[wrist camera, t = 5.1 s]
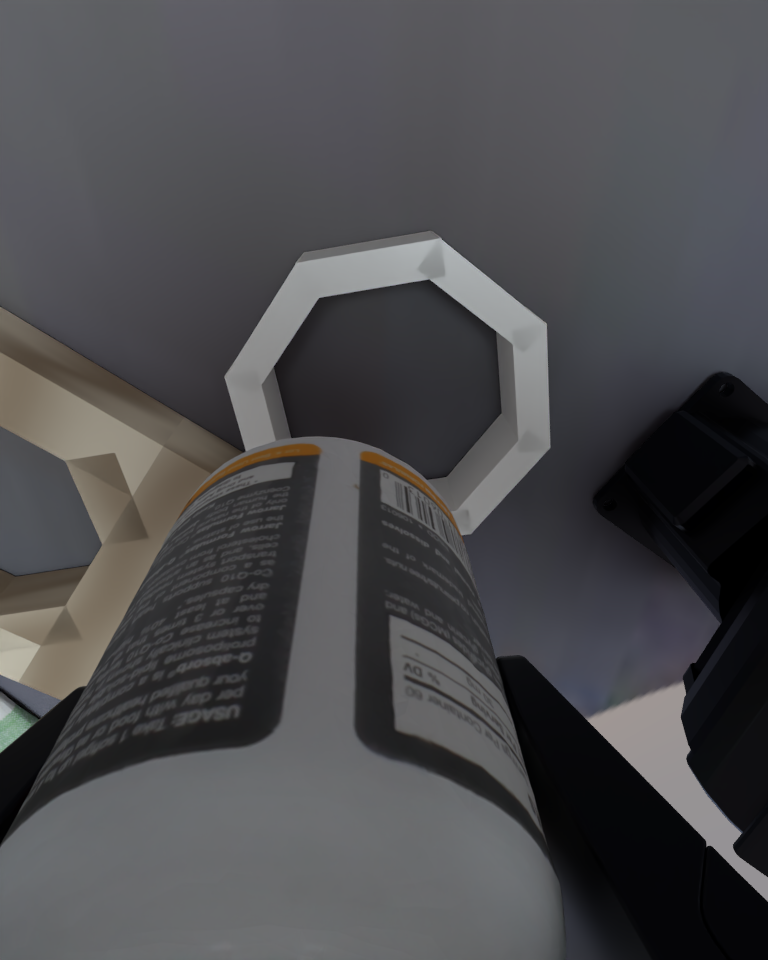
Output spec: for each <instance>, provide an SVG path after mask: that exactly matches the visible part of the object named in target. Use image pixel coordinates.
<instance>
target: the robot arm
mask: <svg viewBox="0 0 768 960" xmlns="http://www.w3.org/2000/svg"><path fill="white" fill-rule="evenodd" d="M725 383H728V387H727V388H726V390H725V391H724V392H722V393H719V389H720V388H721V386H722V385H724V384H725ZM609 499H613V501H612V502H611V504H609V505H607V506H603V504H604V503H605V501H607V500H609ZM593 504H594V507H595V508H596V510H597V511H598V512H599V513H600V515H602V516H603V517H605V518H606V519H607V520H609V521H610V522H612V523H613V524H614V525H616V526H617V527H619V528H620V529H622V530H623V531H624V532H626V533H627V534H629V535H630V536H631V537H633V538H634V539H636V540H637V541H638V542H640V543H641V544H643V545H644V546H646V547H647V548H648V549H650V550H651V551H653V552H654V553H655V554H657V555H658V556H660V557H661V558H663V559H664V560H665V561H667V562H668V563H670V564H671V565H672V566H674V567H675V568H676V569H677V570H678V571H679V572H680V574H681V575H682V576H683V577H684V579H685V580H686V581H687V582H688V584H689V585H690V586H691V587H692V589H693V590H694V591H695V592H696V594H697V595H698V596H699V597H700V599H701V600H702V601H703V602H704V604H705V605H706V606H707V607H708V609H709V610H710V611H711V612H712V613H713V615H714V616H715V617H716V618H717V620H718V621H719V622H720V623H721V624H720V626H719V628H718V629H717V631H716V632H715V634H714V635H713V637H712V638H711V640H710V642H709V643H708V645H707V646H706V648H705V649H704V651H703V653H702V654H701V656H700V657H699V659H698V660H697V662H696V663H692V664H690V666H689V668H688V669H687V671H686V672H685V674H684V675H683V681H684V685H685V690H686V696H685V698H684V703H683V708H682V713H681V720H682V723H683V727H684V730H685V734H686V737H687V741H688V745H689V746H690V749H691V751H690V752H689V754H688V755H687V758H686V759H687V763H688V765H689V767H690V769H691V771H692V772H693V774H694V775H695V777H696V779H697V780H698V781H699V783H700V785H701V786H702V788H703V790H704V791H705V792H706V794H707V795H708V797H709V798H710V799H711V800H712V802H713V803H714V804H715V805H716V806H717V807H718V809H719V810H720V811H721V812H722V813H723V815H724V816H725V817H726V818H727V819H728V820H729V821H730V822H731V823H732V824H733V825H734V826H735V827H736V828H737V829H738V830H739V831H740V832H741V833H742V834H741V835H740V837H739V838H738V839H737V840H736V842H735V843H734V844H733V848H734V851H735V852H736V854H737V855H738V856H739V857H740V858H742V859H743V860H744V861H746V862H747V863H749V864H750V865H751V866H753V867H754V868H756V869H757V870H759V871H760V872H761V873H763V874H764V875H766V876H767V877H768V404H767V403H765V402H764V401H763V400H762V399H761V398H760V397H759V396H758V395H756V394H755V393H754V392H753V391H752V390H751V389H750V388H749V387H747V386H746V385H745V384H744V383H743V382H742V381H741V380H740V379H738V378H737V377H735V376H733V375H731V374H729V373H724V372H722V373H719V374H716V375H715V376H713V377H712V378H711V379H710V380H709V381H708V382H707V383H706V384H705V385H704V386H703V387H702V388H701V389H700V390H699V391H698V392H697V393H696V394H695V395H694V396H693V397H692V398H691V399H690V400H689V401H688V402H687V403H686V404H685V405H684V406H683V407H682V408H681V409H680V410H679V411H678V412H676V413H674V414H673V415H672V416H671V417H670V418H669V419H668V420H667V421H666V422H665V423H664V424H663V425H662V426H661V427H660V428H659V429H658V430H657V431H656V432H655V433H654V434H653V435H652V436H651V437H650V438H649V439H648V440H647V441H646V442H645V443H644V444H643V445H642V446H641V447H640V448H639V449H638V450H637V451H636V452H635V453H634V454H633V455H632V456H631V457H630V458H629V459H628V460H627V461H626V463H625V465H624V466H623V467H622V468H621V469H620V470H619V471H618V473H617V474H616V475H615V476H614V477H613V478H612V479H611V480H610V481H609V482H608V483H607V484H606V485H605V486H604V487H603V488H602V489H601V490H600V491H599V492H598V493H597V494H596V495H595V497H594V500H593ZM496 662H497V665H498V669H499V672H500V675H501V678H502V682H503V687H504V691H505V695H506V699H507V702H508V706H509V709H510V713H511V716H512V719H513V722H514V726H515V729H516V733H517V737H518V741H519V744H520V748H521V752H522V756H523V760H524V763H525V767H526V771H527V774H528V778H529V781H530V785H531V788H532V791H533V793H534V797H535V801H536V805H537V809H538V813H539V816H540V820H541V824H542V827H543V831H544V834H545V838H546V842H547V845H548V849H549V853H550V856H551V858H552V861H553V864H554V867H555V870H556V873H557V876H558V879H559V882H560V887H561V891H562V899H563V908H564V917H565V926H566V960H768V902H767V901H766V900H765V899H764V898H763V897H762V896H761V895H760V894H759V893H758V892H757V891H756V890H755V889H754V888H753V887H752V886H751V885H750V884H749V883H748V882H747V881H746V880H745V879H744V878H743V877H742V876H741V875H740V874H739V873H737V871H735V869H734V868H733V867H732V866H731V865H729V863H728V862H727V861H726V860H725V859H724V858H723V857H722V856H721V855H720V854H719V853H718V852H717V851H716V850H715V849H714V848H713V847H712V846H707V847H706V841H705V839H704V838H703V837H702V836H701V835H700V834H699V833H698V832H697V831H696V830H695V829H694V828H693V827H692V826H691V825H690V824H689V823H688V822H687V821H686V820H685V819H684V818H683V817H682V816H681V815H680V814H679V813H678V812H677V811H676V810H675V809H674V808H673V807H672V806H671V805H670V804H669V803H668V802H667V801H666V800H665V799H664V798H663V797H662V796H661V795H660V794H659V793H658V792H657V791H656V790H655V789H654V788H653V787H652V786H651V785H650V784H649V783H648V782H647V781H646V780H645V779H644V778H643V777H642V776H641V775H640V773H639V772H638V771H637V770H636V769H635V768H634V767H633V766H631V764H630V763H629V762H628V761H627V760H626V759H625V758H624V757H623V756H622V755H621V754H620V753H619V752H618V751H617V750H616V749H615V748H614V747H613V746H612V745H611V744H610V743H609V742H608V741H607V740H606V739H605V738H604V737H603V736H602V735H601V734H600V733H599V732H598V731H597V730H596V729H595V728H594V727H593V726H592V725H591V724H590V723H589V722H588V721H587V720H586V719H585V718H584V717H583V716H582V715H581V714H580V713H579V712H578V711H577V710H576V709H575V708H574V707H573V706H572V705H571V704H570V703H569V702H568V701H567V700H566V699H565V698H564V697H563V696H562V695H561V694H560V692H559V691H558V690H557V689H556V688H555V687H554V686H553V685H552V684H551V683H550V682H549V681H548V680H547V679H546V678H545V677H544V676H543V675H542V674H541V673H540V672H539V671H538V670H537V669H536V668H535V667H534V666H533V665H532V664H531V663H530V662H529V661H528V660H527V659H526V658H525V657H523V656H520V655H516V656H501V657H498V658H496ZM85 688H86V686H81V687H78V688H77V689H75V690H74V691H72V692H71V693H70V694H69V695H68V696H66V697H65V698H64V699H63V700H62V701H61V702H59V703H58V704H57V705H56V706H55V707H54V708H52V709H51V710H50V711H49V712H48V713H46V714H45V715H44V716H43V717H42V718H41V719H39V720H38V721H37V722H36V723H35V724H33V725H32V726H31V727H30V728H29V729H28V730H26V731H25V732H24V733H23V734H22V735H21V736H19V737H18V738H17V739H16V740H15V741H13V742H12V743H11V744H10V745H9V746H8V747H6V748H5V749H4V750H3V751H2V752H0V845H1V843H2V841H3V839H4V837H5V836H6V834H7V832H8V830H9V828H10V827H11V825H12V823H13V821H14V820H15V818H16V816H17V814H18V812H19V810H20V808H21V806H22V805H23V803H24V801H25V799H26V798H27V796H28V794H29V792H30V791H31V788H32V786H33V784H34V782H35V780H36V778H37V776H38V774H39V772H40V770H41V769H42V767H43V765H44V763H45V762H46V760H47V758H48V757H49V755H50V753H51V751H52V750H53V748H54V745H55V743H56V741H57V739H58V737H59V735H60V733H61V732H62V730H63V728H64V726H65V724H66V722H67V720H68V719H69V717H70V715H71V713H72V711H73V709H74V707H75V706H76V704H77V702H78V700H79V699H80V697H81V695H82V693H83V691H84V689H85Z"/></svg>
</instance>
